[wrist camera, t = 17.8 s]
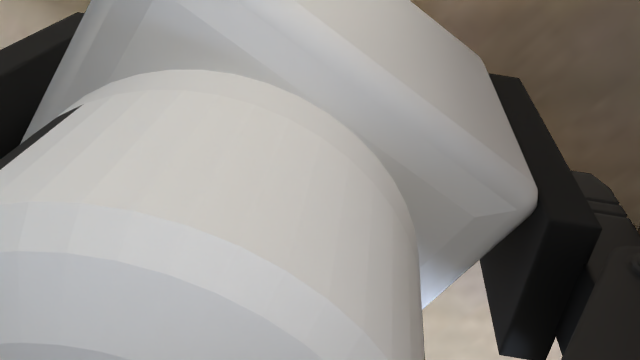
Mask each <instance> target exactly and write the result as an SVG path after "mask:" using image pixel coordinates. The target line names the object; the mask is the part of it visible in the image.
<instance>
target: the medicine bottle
mask: <svg viewBox="0 0 640 360" xmlns="http://www.w3.org/2000/svg"><path fill="white" fill-rule="evenodd" d="M537 201H538V189H537V187H536V184H535V182H534V180H533V177H532V175H531V173H530V170H529V168H528V165H527V163H526V161H525V158H524V156H523V154H522V151H521V149H520V147H519V144H518V142H517V140H516V137H515V135H514V133H513V130H512V128H511V126H510V123H509V121H508V119H507V116H506V114H505V112H504V109H503V107H502V105H501V102H500V100H499V98H498V95H497V93H496V91H495V88H494V86H493V84H492V81H491V79H490V77H489V74H488V72H487V70H486V67H485V65H484V63H483V61H482V60H481V58H480V57H479V56H478V55H477V54H476V53H475V52H473V51H472V50H471V49H470V48H468V47H467V46H466V45H465V44H463V43H462V42H461V41H460V40H458V39H457V38H456V37H455V36H453V35H452V34H451V33H450V32H448V31H447V30H446V29H445V28H443V27H442V26H441V25H440V24H438V23H437V22H436V21H435V20H433V19H432V18H431V17H430V16H428V15H427V14H426V13H425V12H423V11H422V10H421V9H420V8H418V7H417V6H416V5H415V4H413V3H412V2H411V1H410V0H91V2H90V4H89V6H88V8H87V10H86V12H85V14H84V16H83V18H82V20H81V22H80V24H79V26H78V28H77V30H76V32H75V34H74V36H73V38H72V40H71V42H70V44H69V46H68V48H67V50H66V52H65V54H64V56H63V58H62V60H61V62H60V64H59V66H58V68H57V70H56V72H55V74H54V76H53V78H52V80H51V82H50V84H49V86H48V89H47V91H46V93H45V95H44V97H43V99H42V101H41V103H40V105H39V107H38V109H37V111H36V113H35V115H34V117H33V119H32V121H31V123H30V125H29V127H28V129H27V131H26V133H25V135H24V137H23V139H22V141H21V143H20V145H19V146H17V147H16V148H15V149H13V150H12V151H11V152H10V153H8V154H7V155H6V156H4V157H3V158H2V159H0V360H425V353H424V335H423V318H422V309H423V308H424V307H426V306H427V305H428V304H429V303H430V302H431V301H432V300H434V299H435V298H436V297H437V296H438V295H439V294H440V293H442V292H443V291H444V290H445V289H446V288H447V287H449V286H450V285H451V284H452V283H453V282H454V281H455V280H457V279H458V278H459V277H460V276H461V275H462V274H463V273H465V272H466V271H467V270H468V269H469V268H470V267H471V266H473V265H474V264H475V263H476V262H477V261H478V260H480V259H481V258H482V257H483V256H484V255H485V254H486V253H488V252H489V251H490V250H491V249H492V248H493V247H494V246H496V245H497V244H498V243H499V242H500V241H501V240H503V239H504V238H505V237H506V236H507V235H508V234H509V233H511V232H512V231H513V230H514V229H515V228H516V227H517V226H519V225H520V224H521V223H522V222H523V221H524V220H525V219H527V218H528V217H529V216H530V215H531V214H532V213H533V211H534V210H535V208H536V207H537Z"/></svg>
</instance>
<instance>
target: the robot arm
mask: <svg viewBox="0 0 640 360" xmlns="http://www.w3.org/2000/svg"><path fill="white" fill-rule="evenodd" d="M84 14H85V13H78V12H77V13H75V14H73V15H71V16H69V17H67V18H65V19H63V20H61V21H59V22H57V23H55V24H53V25H51V26H49V27H47V28H45V29H43V30H40V31H38V32H36V33H34V34H32V35H30V36H28V37H26V38H24V39H22V40H20V41H18V42H16V43H14V44H12V45H10V46H8V47H6V48H4V49H2V50H0V159H2V158H3V157H4V156H6V155H7V154H8V153H10V152H11V151H12V150H13V149H15V148H16V147H17V146H19V145H20V143H21V141H22V139H23V137H24V135H25V133H26V131H27V129H28V127H29V125H30V123H31V121H32V119H33V117H34V115H35V113H36V111H37V109H38V107H39V105H40V103H41V101H42V99H43V97H44V95H45V93H46V91H47V89H48V86H49V84H50V82H51V80H52V78H53V76H54V74H55V72H56V70H57V68H58V66H59V64H60V62H61V60H62V58H63V56H64V54H65V52H66V50H67V48H68V46H69V44H70V42H71V40H72V38H73V36H74V34H75V32H76V30H77V28H78V26H79V24H80V22H81V20H82V18H83V16H84ZM489 77H490V79H491V81H492V84H493V86H494V88H495V91H496V93H497V95H498V98H499V100H500V102H501V105H502V107H503V109H504V112H505V114H506V116H507V119H508V121H509V123H510V126H511V128H512V130H513V133H514V135H515V137H516V140H517V142H518V144H519V147H520V149H521V151H522V154H523V156H524V158H525V161H526V163H527V165H528V168H529V170H530V173H531V175H532V177H533V180H534V182H535V184H536V187H537V189H538V201H537V207H536V208H535V210H534V211H533V213H532V214H531V215H530V216H529V217H528V218H527V219H525V220H524V221H523V222H522V223H521V224H520V225H519V226H517V227H516V228H515V229H514V230H513V231H512V232H511V233H509V234H508V235H507V236H506V237H505V238H504V239H503V240H501V241H500V242H499V243H498V244H497V245H496V246H494V247H493V248H492V249H491V250H490V251H489V252H488V253H486V254H485V255H484V256H483V257H482V258H481V259H480V263H481V268H482V273H483V278H484V283H485V288H486V293H487V297H488V302H489V307H490V312H491V317H492V322H493V327H494V331H495V336H496V341H497V346H498V351H499V355H504V356H510V357H515V358H521V359H527V360H546V358H547V356H548V353H549V351H550V349H551V347H552V344H553V342H554V340H555V337H556V338H557V341H558V344H559V347H560V350H561V353H562V356H563V357H562V359H561V360H640V234H639V233H638V231H637V230H636V228H635V227H634V225H633V224H632V222H631V220H630V219H629V218H627V214H626V213H625V211H624V210H623V208H622V206H619V202H618V200H617V199H616V197H615V196H614V194H613V192H612V191H611V189H610V188H609V187H608V186H606V185H605V184H604V183H602V182H601V181H600V180H599V179H597V178H596V177H595V176H593V175H592V174H589V173H583V172H576V171H570V169H569V167H568V165H567V164H566V162H565V160H564V158H563V156H562V155H561V153H560V151H559V149H558V147H557V146H556V144H555V142H554V140H553V138H552V136H551V135H550V133H549V131H548V129H547V127H546V126H545V124H544V122H543V120H542V118H541V117H540V115H539V113H538V111H537V109H536V108H535V106H534V104H533V102H532V100H531V99H530V97H529V95H528V93H527V91H526V90H525V88H524V86H523V84H522V82H521V81H520V79H519V78H515V77H508V76H501V75H495V74H489Z"/></svg>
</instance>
